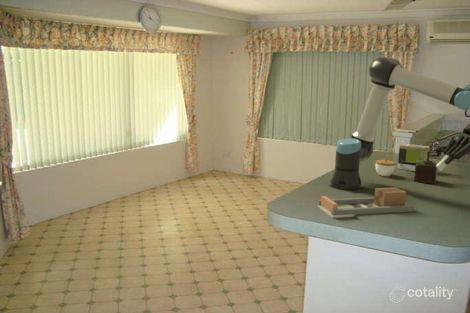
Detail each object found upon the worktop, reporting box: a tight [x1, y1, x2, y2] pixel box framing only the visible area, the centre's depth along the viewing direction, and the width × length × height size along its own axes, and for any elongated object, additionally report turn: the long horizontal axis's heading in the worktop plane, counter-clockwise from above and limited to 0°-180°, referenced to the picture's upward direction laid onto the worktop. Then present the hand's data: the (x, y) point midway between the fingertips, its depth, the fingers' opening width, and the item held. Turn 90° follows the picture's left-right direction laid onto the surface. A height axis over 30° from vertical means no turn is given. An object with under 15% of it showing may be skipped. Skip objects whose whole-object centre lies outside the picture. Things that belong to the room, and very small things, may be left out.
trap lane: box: [317, 195, 416, 219], centre depth 170 cm, size 14×36×5 cm, turn 103°
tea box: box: [397, 143, 431, 172], centre depth 248 cm, size 15×10×15 cm
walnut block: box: [373, 187, 407, 207], centre depth 172 cm, size 7×10×7 cm
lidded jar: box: [374, 158, 397, 177], centre depth 232 cm, size 11×11×9 cm
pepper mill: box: [413, 146, 444, 185], centre depth 222 cm, size 16×11×18 cm
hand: (438, 168), depth 175 cm, fingers closed
